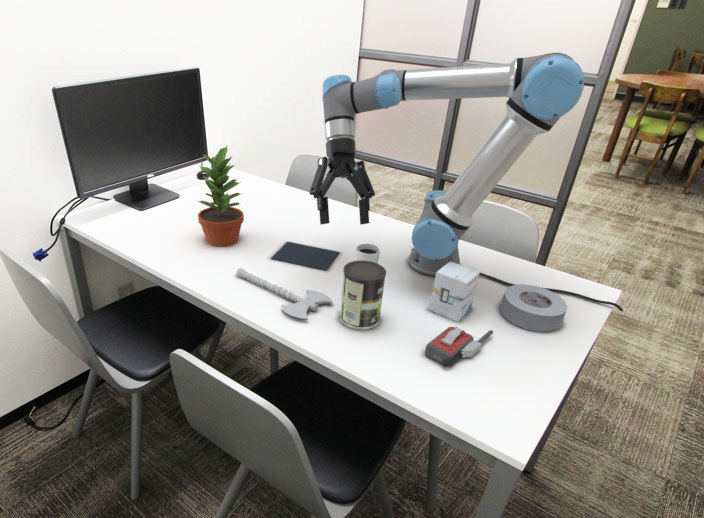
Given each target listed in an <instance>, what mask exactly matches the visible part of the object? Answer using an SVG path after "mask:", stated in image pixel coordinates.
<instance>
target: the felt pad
mask: <svg viewBox="0 0 704 518" xmlns="http://www.w3.org/2000/svg"><path fill="white" fill-rule="evenodd" d="M340 253H341V252H340V251H336V250H332V249H327V248H322V247H317V246H312V245H307V244H302V243H296V242H292V241H286V243H284V244H283V245H282V247H280V248H279V249H278V250H277V252H275V253H274V254H273V255H272V256H271V257H270V260H274V261H279V262H284V263H287V264H288V263H289V264H292V265H298V266H301V267H306V268H311V269H316V270H320V271H324V272H327V271H328V270H329V268H330V267H331V265H332V264H333V263H334V261H335V260H336V258H337V257H338V256H339V254H340Z"/></svg>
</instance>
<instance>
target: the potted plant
mask: <svg viewBox="0 0 704 518" xmlns="http://www.w3.org/2000/svg"><path fill="white" fill-rule="evenodd" d="M228 150H229V149H228V145H226V146H225V147H222V148H220V149H219V150H218V152H217V153H216V154H215V156H213V157H210V156H209V155H208V154H203V157H204V158H205V159H206V160H207V161H208V162H209V164H210V167H208V166H201V165H200V164H199V167H200V170H201V171H202V172H203V173H205V174H206V175H207V176H208V177H209V178H210V179H208V178H207V177H206V176H203V178H204V179H205V180H204V182H205V184H206V186H207V187H208V189H209V190H210V193H211V194H210V193H207V192H206V193H205V194H204V195H205V196H208V197H210V198H211V199H212V201H211V202H209V201H205V200H197V202H198V203H200V204H202V205H204V206H206V207H207V208H204V209H202V210H200V211H198V214H197V220H198V224H199V225H200V226H201V230H202V232H203V235H204V237H205V239H206V243H207V244H209V245H211V246H214V247H229V246H232V245H235V244H236V243H237V242H238V240H239V236H240V232H241V227H242V225H243V222H244V221H245V215H244V211H242V210H241V209H239V208H237V207H235V206H240V205H241V203H240V202H238V201H237V202H231V199H234V198H236V197H238V196H241V195H243V194H244V193H240V192H234V193H231V194H229V192H228V191H229V190H231V189H233V188H234V187H236V186H238V185H240V184H241V183H242V181H240V182H238V179H237V178H234V179H231V180H229V179H230V176H229V175H228V173H229V172H230V170H231V169H233V168H234V167H235V166H236V164H235V165H234V164H233V165H231V163H230V162H231V159H232V158H233V156H230V157H229V158H226V157H227V153H228ZM228 163H229V164H228ZM226 192H227V193H226ZM225 193H226V194H225Z"/></svg>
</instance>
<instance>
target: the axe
mask: <svg viewBox="0 0 704 518" xmlns="http://www.w3.org/2000/svg"><path fill="white" fill-rule="evenodd" d="M235 273H236V276H238V277H240V278H243V279H246V280H247V281H251V282H252V283H253V284H254V283H255V284H256V285H257V286H261V287H262V288H265V289H267V290H270V292H272V293H275V294H276V295H277V296H281V297H282V298H286V299H287V300H288V301H292V302H294V303H290V304H281V305H280V307H281V309H282V311H283V312H285V314H287V315H289V316H291V317H294V318H297V319H303V320H308V319H309V318H308V315H307V313H308V311H309V310H311V311H313V312H316V311H317V310H318V307H319V305H324V304H333V303H334V301H333V300H332V298H331V297H329V296H328V295H327V294H325V293H323V292H320V291H317V290H311V289H306V290H305V291H306V294H307V295H306V297H305V298H303V297H301V296H298V295H296V294H294V293H293V292H292V291H289V290H288V289H286V288H285V289H284V288H283V287H282V286H278V285H277V284H273V283H271V282H269V281H267V280H265V279H263V278H261V277H258V276H257V275H254V274H253V273H251V272H250V273H249V272H248V271H246V270H245V269H244V268H242V267H239V268H238V269H236V272H235Z"/></svg>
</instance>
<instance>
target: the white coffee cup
mask: <svg viewBox="0 0 704 518" xmlns="http://www.w3.org/2000/svg"><path fill="white" fill-rule="evenodd" d="M380 254H381V248H380V247H379V246H378V245H376V244H373V243H360V244H358V245H357V246H356V249H355V261H361V260H362V261H371V262H375V263H377V264H379V259H380Z"/></svg>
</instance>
